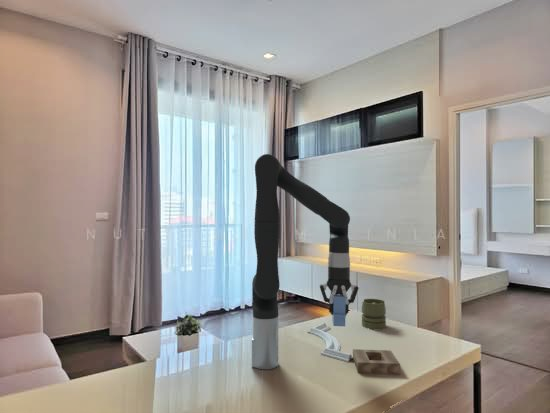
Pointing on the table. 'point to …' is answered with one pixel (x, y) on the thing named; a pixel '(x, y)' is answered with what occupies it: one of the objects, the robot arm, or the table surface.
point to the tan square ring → (376, 361)
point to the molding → (330, 343)
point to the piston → (373, 314)
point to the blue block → (339, 310)
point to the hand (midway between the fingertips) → (338, 314)
